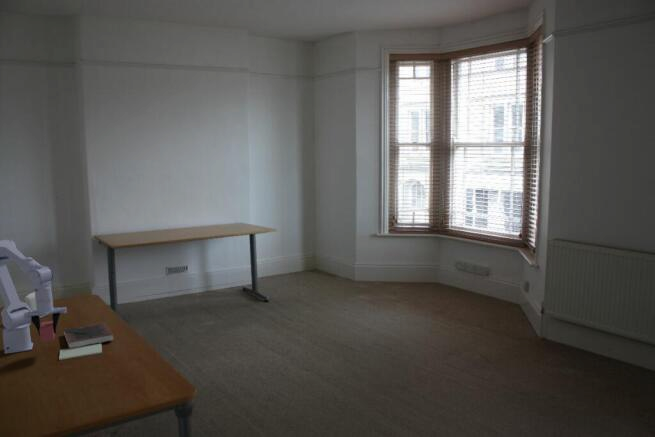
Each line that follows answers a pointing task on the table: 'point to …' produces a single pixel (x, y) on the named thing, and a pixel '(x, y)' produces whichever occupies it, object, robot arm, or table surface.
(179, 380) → the table surface
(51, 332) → the card box
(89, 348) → the sage mat
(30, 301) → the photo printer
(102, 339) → the picture frame
